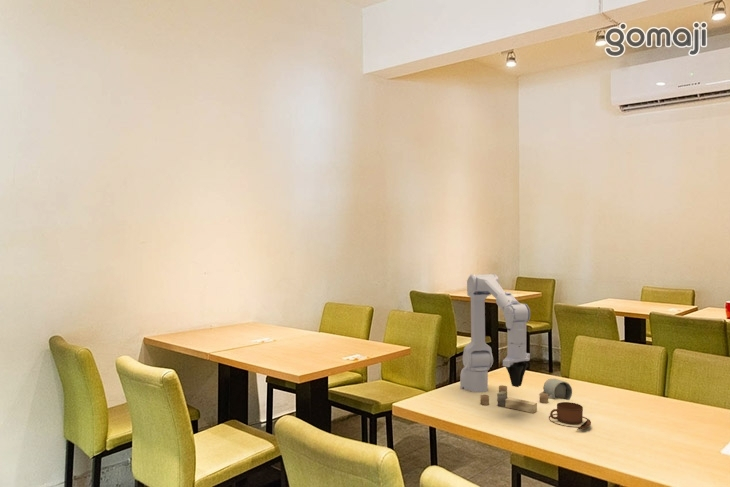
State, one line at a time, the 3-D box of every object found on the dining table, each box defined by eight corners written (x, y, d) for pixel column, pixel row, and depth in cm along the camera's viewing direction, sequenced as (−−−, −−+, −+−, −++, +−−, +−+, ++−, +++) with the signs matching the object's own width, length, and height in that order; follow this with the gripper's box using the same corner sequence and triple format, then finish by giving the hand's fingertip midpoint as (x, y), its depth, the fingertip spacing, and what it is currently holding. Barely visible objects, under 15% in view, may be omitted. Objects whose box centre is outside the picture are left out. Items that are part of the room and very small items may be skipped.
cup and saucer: (571, 435, 156) (571, 414, 156) (540, 422, 167) (540, 403, 167) (599, 429, 162) (600, 408, 161) (567, 417, 172) (568, 397, 172)
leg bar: (495, 405, 178) (496, 397, 178) (500, 403, 181) (500, 395, 181) (533, 413, 170) (533, 404, 170) (537, 411, 173) (537, 402, 173)
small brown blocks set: (477, 408, 180) (477, 396, 180) (500, 396, 194) (500, 384, 194) (530, 420, 168) (530, 406, 168) (550, 406, 183) (550, 393, 183)
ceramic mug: (559, 395, 195) (558, 375, 195) (572, 402, 187) (572, 381, 187) (533, 398, 192) (533, 377, 192) (546, 405, 184) (546, 383, 184)
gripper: (518, 347, 161) (517, 393, 162) (539, 341, 172) (538, 383, 172) (496, 344, 166) (496, 388, 166) (518, 338, 177) (518, 379, 177)
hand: (516, 385), depth 170 cm, fingers closed
